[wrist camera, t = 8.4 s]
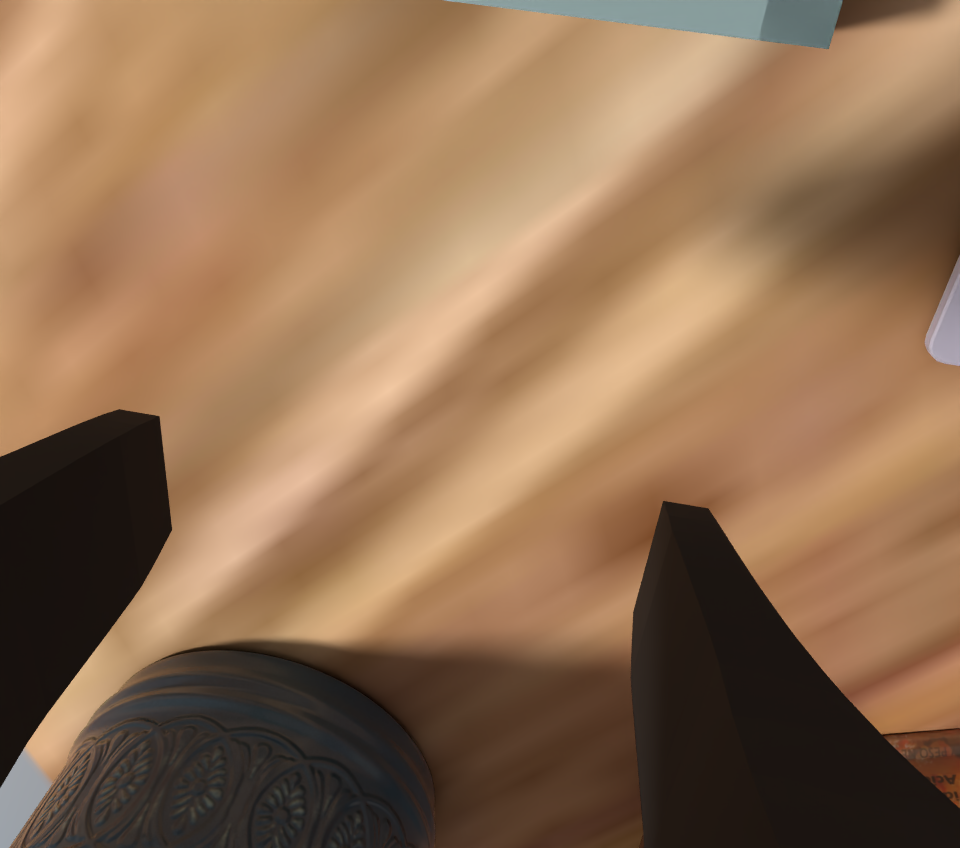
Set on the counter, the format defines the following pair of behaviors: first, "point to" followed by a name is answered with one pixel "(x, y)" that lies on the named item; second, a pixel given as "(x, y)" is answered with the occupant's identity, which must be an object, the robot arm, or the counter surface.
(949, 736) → the tin
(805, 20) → the link
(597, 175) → the counter surface
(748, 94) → the counter surface
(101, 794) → the canister
